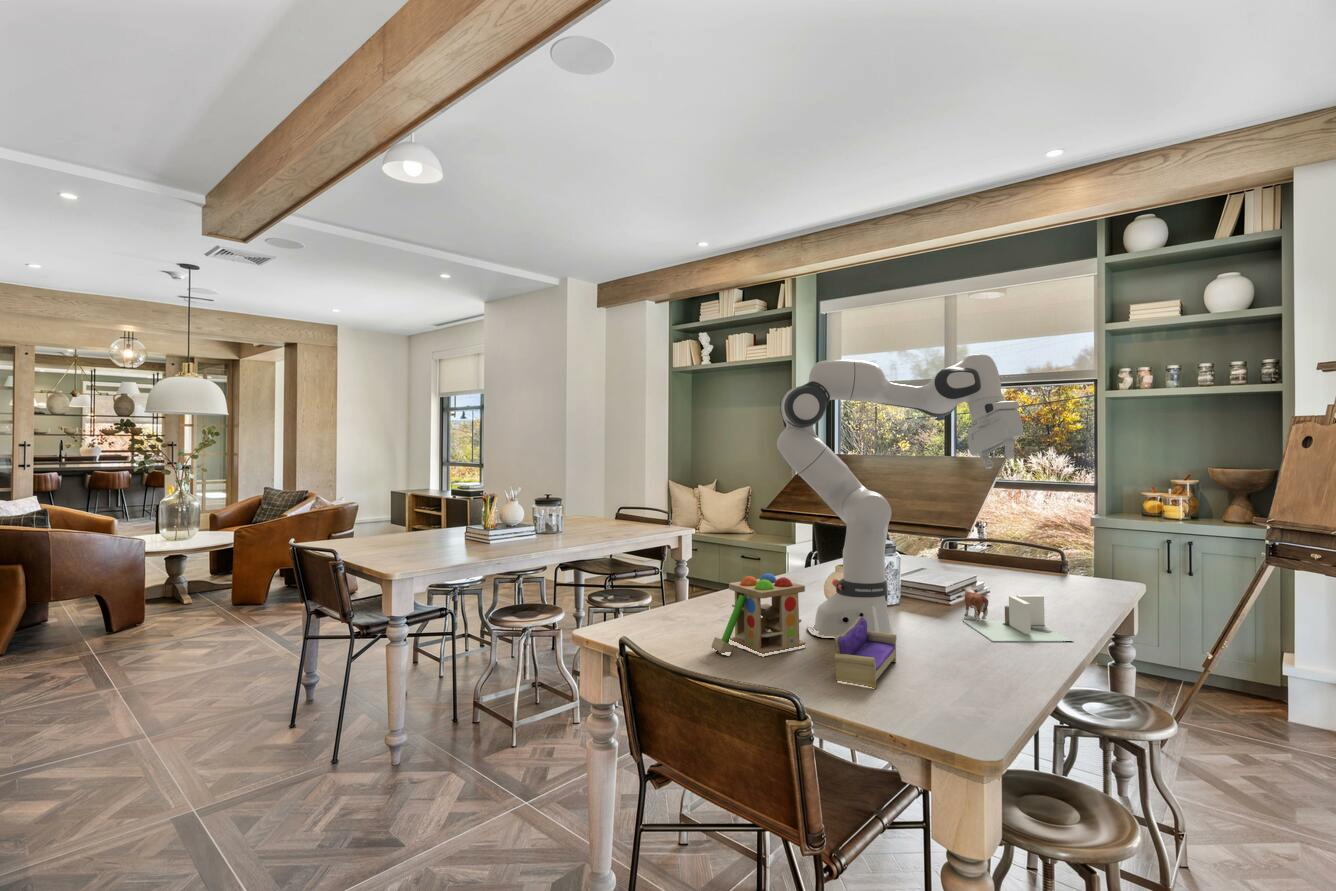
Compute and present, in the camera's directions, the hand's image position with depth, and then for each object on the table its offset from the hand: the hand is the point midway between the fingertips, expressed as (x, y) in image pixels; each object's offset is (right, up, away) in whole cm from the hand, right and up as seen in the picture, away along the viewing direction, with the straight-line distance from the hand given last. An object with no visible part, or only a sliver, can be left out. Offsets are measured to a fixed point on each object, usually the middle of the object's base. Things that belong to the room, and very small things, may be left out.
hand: (999, 463), depth 170 cm
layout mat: (+8, -46, +8) cm, 47 cm away
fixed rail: (+13, -45, +13) cm, 49 cm away
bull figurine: (+4, -46, +22) cm, 51 cm away
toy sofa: (-41, -47, -23) cm, 66 cm away
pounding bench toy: (-64, -47, -3) cm, 80 cm away
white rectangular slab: (+9, -45, +7) cm, 46 cm away
